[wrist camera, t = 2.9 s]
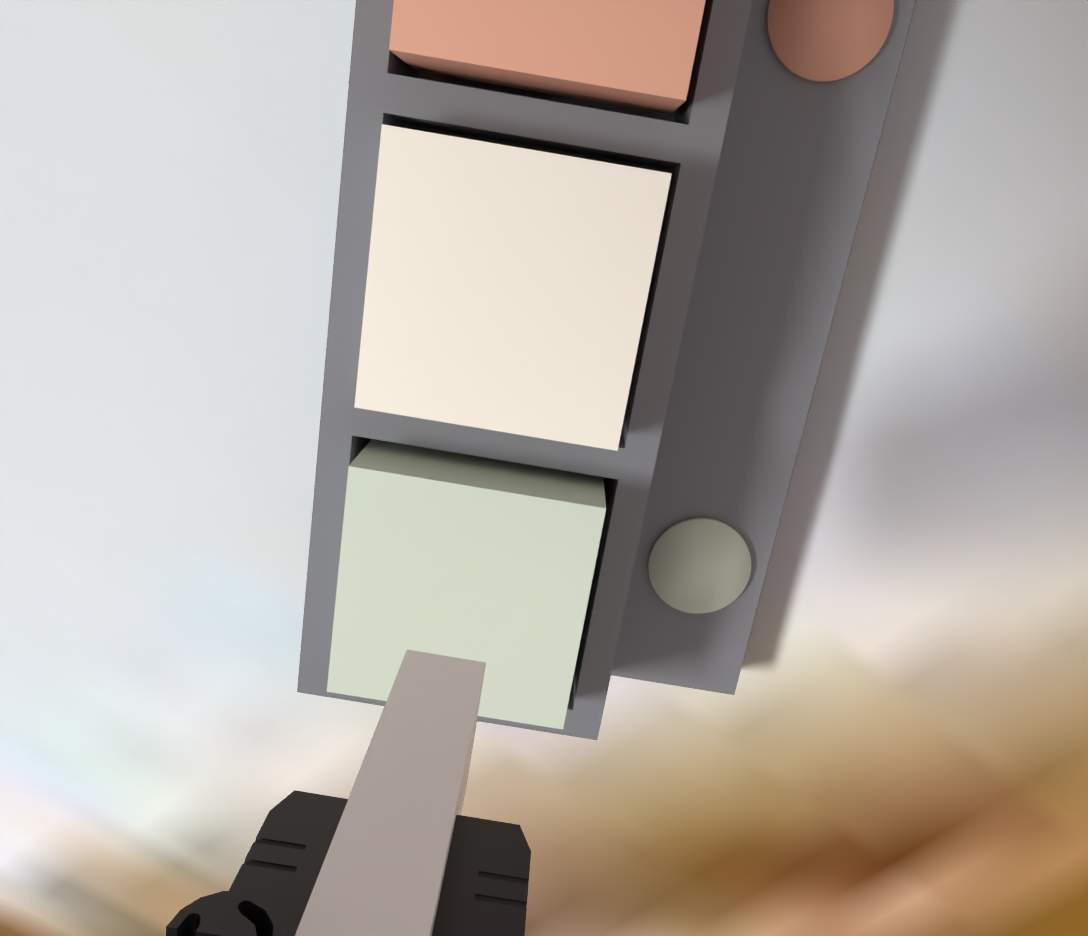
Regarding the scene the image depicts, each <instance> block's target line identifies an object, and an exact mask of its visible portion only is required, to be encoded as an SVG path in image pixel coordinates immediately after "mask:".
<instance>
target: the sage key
mask: <svg viewBox="0 0 1088 936" xmlns="http://www.w3.org/2000/svg"><path fill="white" fill-rule="evenodd" d="M605 512H606V501H605V491H604V480H603V477H600V476H594V475H588V474H582V473H576V472H570V471H564V470H558V469H552V468H546V467H540V466H534V465H528V464H522V463H516V462H509V461H503V460H497V459H491V458H485V457H479V456H473V455H467V454H461V453H455V452H449V451H443V450H437V449H431V448H425V447H419V446H412V445H406V444H400V443H394V442H388V441H382V440H376V439H371V440H370V442H369V443H368V444H367V445H366V446H365V447H364V449H363V450H362V451H361V452H360V453H359V454H358V456H357V457H356V458H355V459H354V460H353V461H352V463H351V464H350V465H349V467H348V477H347V488H346V498H345V508H344V518H343V529H342V539H341V549H340V560H339V570H338V580H337V591H336V601H335V611H334V622H333V632H332V642H331V652H330V663H329V673H328V683H327V692H332V693H338V694H345V695H351V696H357V697H363V698H370V699H376V700H382V701H387V699H388V696H389V694H390V691H391V689H392V686H393V684H394V681H395V678H396V676H397V673H398V671H399V668H400V666H401V663H402V661H403V658H404V655H405V653H406V650H414V651H420V652H426V653H432V654H438V655H444V656H450V657H456V658H462V659H468V660H474V661H480V662H486V667H485V673H484V679H483V685H482V692H481V698H480V704H479V711H478V716H482V717H488V718H494V719H500V720H506V721H513V722H519V723H525V724H531V725H538V726H544V727H550V728H556V729H563V727H564V722H565V717H566V712H567V707H568V702H569V696H570V691H571V686H572V681H573V676H574V671H575V666H576V661H577V655H578V650H579V645H580V640H581V635H582V630H583V625H584V620H585V615H586V609H587V604H588V599H589V594H590V589H591V584H592V579H593V574H594V569H595V563H596V558H597V553H598V548H599V543H600V538H601V533H602V528H603V523H604V517H605Z"/></svg>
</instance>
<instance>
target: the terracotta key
mask: <svg viewBox="0 0 1088 936" xmlns="http://www.w3.org/2000/svg"><path fill="white" fill-rule="evenodd" d="M705 1H706V0H394V3H393V14H392V24H391V34H390V44H389V50H390V51H392V52H393V53H394V54H395V55H397V56H398V57H399V58H400V59H402V60H403V61H404V62H405V63H407V64H408V65H409V66H410V67H411V68H413V69H414V70H415V71H419V72H425V73H431V74H437V75H442V76H448V77H454V78H460V79H466V80H472V81H477V82H483V83H489V84H495V85H501V86H507V87H512V88H518V89H524V90H530V91H536V92H542V93H548V94H553V95H559V96H565V97H571V98H577V99H583V100H588V101H594V102H600V103H606V104H612V105H618V106H623V107H629V108H635V109H641V110H647V111H653V112H658V113H664V114H671V113H673V112H674V111H675V110H676V109H677V108H678V107H679V106H680V105H682V104H683V103H684V102H685V101H686V98H687V93H688V88H689V83H690V78H691V72H692V67H693V62H694V57H695V52H696V47H697V42H698V37H699V32H700V26H701V21H702V16H703V11H704V6H705Z"/></svg>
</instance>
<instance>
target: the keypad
mask: <svg viewBox="0 0 1088 936" xmlns="http://www.w3.org/2000/svg"><path fill="white" fill-rule="evenodd" d="M393 3H394V0H356V8H355V19H354V31H353V43H352V55H351V66H350V78H349V90H348V102H347V113H346V125H345V137H344V149H343V160H342V172H341V184H340V196H339V207H338V219H337V231H336V243H335V254H334V266H333V278H332V290H331V301H330V313H329V325H328V337H327V348H326V360H325V372H324V384H323V395H322V407H321V419H320V430H319V442H318V454H317V466H316V477H315V489H314V501H313V513H312V524H311V536H310V548H309V560H308V571H307V583H306V595H305V607H304V618H303V630H302V642H301V654H300V665H299V677H298V689H297V692H301V693H307V694H313V695H319V696H325V697H332V698H338V699H344V700H350V701H357V702H363V703H369V704H375V705H382V706H385V704H386V701H382V700H376V699H370V698H363V697H357V696H351V695H345V694H338V693H332V692H327V683H328V673H329V663H330V652H331V642H332V632H333V622H334V611H335V601H336V591H337V580H338V570H339V560H340V549H341V539H342V529H343V518H344V508H345V498H346V488H347V477H348V467H349V465H350V464H351V463H352V461H353V460H354V459H355V458H356V457H357V456H358V454H359V453H360V452H361V451H362V450H363V449H364V447H365V446H366V445H367V444H368V443H369V442H370V440H371V439H376V440H382V441H388V442H394V443H400V444H406V445H412V446H419V447H425V448H431V449H437V450H443V451H449V452H455V453H461V454H467V455H473V456H479V457H485V458H491V459H497V460H503V461H509V462H516V463H522V464H528V465H534V466H540V467H546V468H552V469H558V470H564V471H570V472H576V473H582V474H588V475H594V476H600V477H603V480H604V491H605V501H606V512H605V517H604V523H603V528H602V533H601V538H600V543H599V548H598V553H597V558H596V563H595V569H594V574H593V579H592V584H591V589H590V594H589V599H588V604H587V609H586V615H585V620H584V625H583V630H582V635H581V640H580V645H579V650H578V655H577V661H576V666H575V671H574V676H573V681H572V686H571V691H570V696H569V702H568V707H567V712H566V717H565V722H564V727H563V729H556V728H550V727H544V726H538V725H531V724H525V723H519V722H513V721H506V720H500V719H494V718H488V717H482V716H478V717H477V721H481V722H487V723H494V724H500V725H506V726H512V727H519V728H525V729H531V730H537V731H543V732H550V733H556V734H562V735H568V736H575V737H581V738H587V739H593V740H597V738H598V733H599V728H600V724H601V719H602V714H603V709H604V705H605V700H606V695H607V690H608V686H609V681H610V676H611V675H614V676H620V677H626V678H633V679H639V680H645V681H651V682H657V683H664V684H670V685H676V686H682V687H688V688H694V689H701V690H707V691H713V692H719V693H725V694H732V695H734V693H735V690H736V686H737V682H738V678H739V674H740V670H741V667H742V663H743V659H744V655H745V651H746V648H747V644H748V640H749V636H750V632H751V629H752V625H753V621H754V617H755V613H756V609H757V606H758V602H759V598H760V594H761V590H762V587H763V583H764V579H765V575H766V571H767V567H768V564H769V560H770V556H771V552H772V548H773V545H774V541H775V537H776V533H777V529H778V525H779V522H780V518H781V514H782V510H783V506H784V503H785V499H786V495H787V491H788V487H789V483H790V480H791V476H792V472H793V468H794V464H795V461H796V457H797V453H798V449H799V445H800V442H801V438H802V434H803V430H804V426H805V422H806V419H807V415H808V411H809V407H810V403H811V400H812V396H813V392H814V388H815V384H816V380H817V377H818V373H819V369H820V365H821V361H822V358H823V354H824V350H825V346H826V342H827V338H828V335H829V331H830V327H831V323H832V319H833V316H834V312H835V308H836V304H837V300H838V296H839V293H840V289H841V285H842V281H843V277H844V274H845V270H846V266H847V262H848V258H849V254H850V251H851V247H852V243H853V239H854V235H855V232H856V228H857V224H858V220H859V216H860V213H861V209H862V205H863V201H864V197H865V193H866V190H867V186H868V182H869V178H870V174H871V171H872V167H873V163H874V159H875V155H876V151H877V148H878V144H879V140H880V136H881V132H882V129H883V125H884V121H885V117H886V113H887V109H888V106H889V102H890V98H891V94H892V90H893V87H894V83H895V79H896V75H897V71H898V67H899V64H900V60H901V56H902V52H903V48H904V45H905V41H906V37H907V33H908V29H909V26H910V22H911V18H912V14H913V10H914V6H915V3H916V0H706V1H705V6H704V11H703V16H702V21H701V26H700V32H699V37H698V42H697V47H696V52H695V57H694V62H693V67H692V72H691V78H690V83H689V88H688V93H687V98H686V101H685V102H684V103H683V104H682V105H680V106H679V107H678V108H677V109H676V110H675V111H674V112H673V113H671V114H664V113H658V112H653V111H647V110H641V109H635V108H629V107H623V106H618V105H612V104H606V103H600V102H594V101H588V100H583V99H577V98H571V97H565V96H559V95H553V94H548V93H542V92H536V91H530V90H524V89H518V88H512V87H507V86H501V85H495V84H489V83H483V82H477V81H472V80H466V79H460V78H454V77H448V76H442V75H437V74H431V73H425V72H419V71H415V70H414V69H413V68H411V67H410V66H409V65H408V64H407V63H405V62H404V61H403V60H402V59H400V58H399V57H398V56H397V55H395V54H394V53H393V52H392V51H390V50H389V44H390V34H391V24H392V14H393ZM382 124H384V125H390V126H395V127H401V128H407V129H413V130H419V131H425V132H431V133H437V134H442V135H448V136H454V137H460V138H466V139H472V140H478V141H484V142H489V143H495V144H501V145H507V146H513V147H519V148H525V149H531V150H536V151H542V152H548V153H554V154H560V155H566V156H572V157H578V158H583V159H589V160H595V161H601V162H607V163H613V164H619V165H625V166H630V167H636V168H642V169H648V170H654V171H660V172H666V173H672V175H671V180H670V185H669V190H668V195H667V200H666V205H665V211H664V216H663V221H662V226H661V231H660V236H659V241H658V246H657V251H656V257H655V262H654V267H653V272H652V277H651V282H650V287H649V292H648V298H647V303H646V308H645V313H644V318H643V323H642V328H641V333H640V338H639V344H638V349H637V354H636V359H635V364H634V369H633V374H632V379H631V384H630V390H629V395H628V400H627V405H626V410H625V415H624V420H623V425H622V430H621V436H620V441H619V446H618V451H615V450H609V449H603V448H596V447H590V446H584V445H578V444H572V443H566V442H560V441H554V440H548V439H542V438H536V437H530V436H524V435H518V434H512V433H506V432H500V431H494V430H488V429H482V428H476V427H470V426H464V425H457V424H451V423H445V422H439V421H433V420H427V419H421V418H415V417H409V416H403V415H397V414H391V413H385V412H379V411H373V410H367V409H361V408H355V407H354V405H355V395H356V385H357V374H358V364H359V354H360V343H361V333H362V323H363V312H364V302H365V292H366V281H367V271H368V261H369V251H370V240H371V230H372V220H373V209H374V199H375V189H376V178H377V168H378V158H379V148H380V137H381V127H382Z"/></svg>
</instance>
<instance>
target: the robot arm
mask: <svg viewBox="0 0 1088 936" xmlns="http://www.w3.org/2000/svg"><path fill="white" fill-rule="evenodd" d="M485 667H486V662H480V661H474V660H468V659H462V658H456V657H450V656H444V655H438V654H432V653H426V652H420V651H414V650H406V653H405V655H404V658H403V661H402V663H401V666H400V668H399V671H398V673H397V676H396V678H395V681H394V684H393V686H392V689H391V691H390V694H389V696H388V699H387V701H386V704H385V707H384V709H383V712H382V714H381V717H380V719H379V722H378V724H377V727H376V730H375V732H374V735H373V737H372V740H371V742H370V745H369V747H368V750H367V753H366V755H365V758H364V760H363V763H362V765H361V768H360V770H359V773H358V776H357V778H356V781H355V783H354V786H353V788H352V791H351V793H350V796H349V799H343V798H337V797H331V796H325V795H319V794H313V793H307V792H301V791H293V792H292V793H291V794H290V795H289V796H287V797H286V798H285V799H284V800H282V801H281V802H280V803H279V804H278V805H276V806H275V807H274V808H273V809H272V810H270V812H269V813H268V815H267V817H266V819H265V821H264V823H263V825H262V827H261V829H260V831H259V833H258V835H257V837H256V841H255V842H254V843H253V845H252V847H251V849H250V851H249V852H248V854H247V856H246V858H245V863H244V864H242V866H241V868H240V870H239V872H238V874H237V876H236V878H235V880H234V882H233V884H232V886H231V888H230V890H229V891H222V892H219V893H215V894H212V895H208V896H205V897H201V898H199V899H198V900H196V901H194V902H193V903H191V904H189V905H188V906H186V907H185V908H183V909H181V910H180V911H179V913H178V914H177V915H176V916H175V917H174V918H173V920H172V921H171V922H170V923H169V924H168V925H167V927H166V936H524V933H525V920H526V905H527V895H528V880H529V869H530V856H531V850H530V848H529V846H528V843H527V841H526V839H525V836H524V834H523V832H522V830H521V827H520V825H516V824H510V823H504V822H498V821H492V820H486V819H479V818H473V817H467V816H461V811H462V806H463V801H464V796H465V790H466V785H467V779H468V773H469V767H470V761H471V754H472V748H473V742H474V736H475V729H476V723H477V717H478V711H479V704H480V698H481V692H482V685H483V679H484V673H485Z"/></svg>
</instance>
